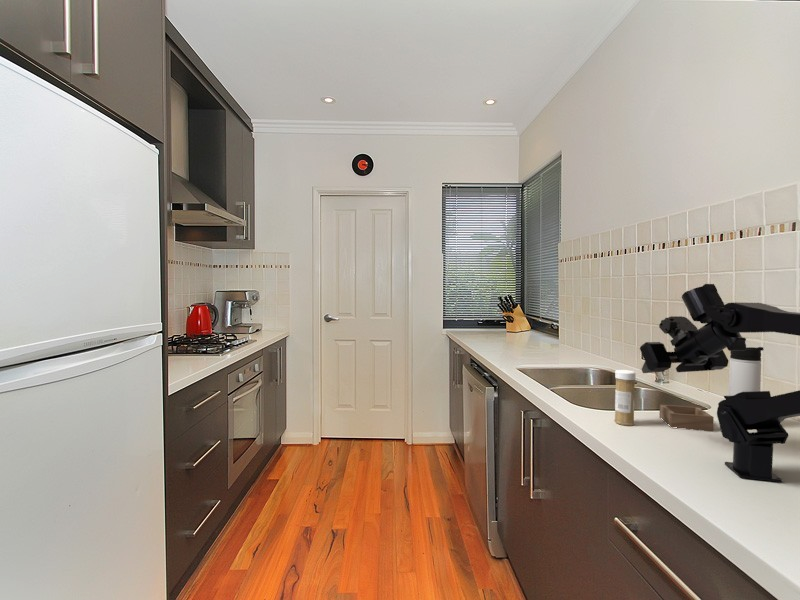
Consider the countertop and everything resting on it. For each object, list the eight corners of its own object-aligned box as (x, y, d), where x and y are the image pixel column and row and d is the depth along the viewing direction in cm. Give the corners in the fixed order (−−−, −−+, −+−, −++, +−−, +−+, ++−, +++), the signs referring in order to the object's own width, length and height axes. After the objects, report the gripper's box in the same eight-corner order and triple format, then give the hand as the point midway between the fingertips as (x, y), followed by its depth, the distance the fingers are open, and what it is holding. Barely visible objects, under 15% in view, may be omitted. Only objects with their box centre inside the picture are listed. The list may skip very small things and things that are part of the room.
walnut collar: (713, 431, 104) (713, 417, 104) (671, 427, 107) (671, 413, 107) (697, 420, 113) (698, 407, 113) (659, 417, 115) (659, 404, 115)
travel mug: (757, 429, 106) (760, 348, 106) (725, 422, 111) (727, 345, 111) (762, 424, 110) (765, 346, 110) (730, 418, 115) (733, 343, 115)
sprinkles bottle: (637, 424, 109) (639, 371, 109) (627, 427, 107) (629, 373, 106) (620, 419, 113) (621, 368, 113) (610, 422, 111) (611, 370, 110)
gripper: (727, 308, 96) (679, 340, 109) (652, 307, 93) (613, 341, 106) (753, 353, 90) (699, 381, 103) (674, 355, 87) (629, 384, 100)
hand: (660, 370), depth 103 cm, fingers open, 9 cm apart
